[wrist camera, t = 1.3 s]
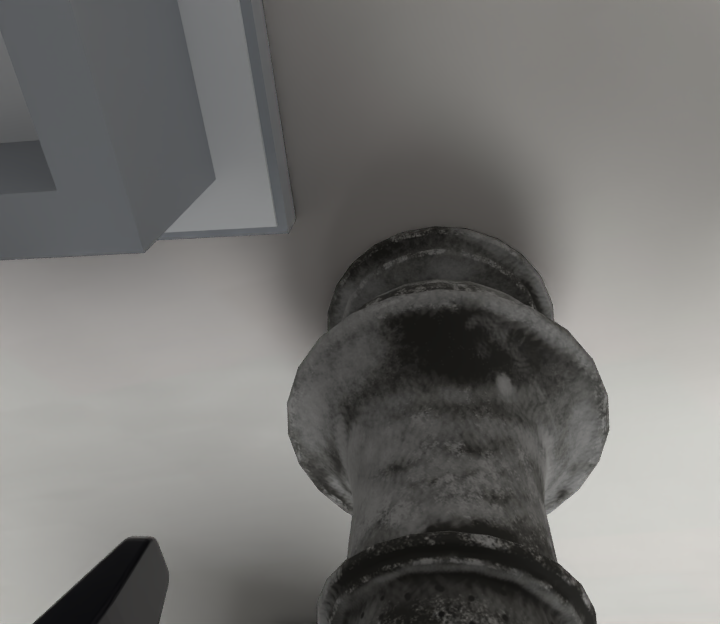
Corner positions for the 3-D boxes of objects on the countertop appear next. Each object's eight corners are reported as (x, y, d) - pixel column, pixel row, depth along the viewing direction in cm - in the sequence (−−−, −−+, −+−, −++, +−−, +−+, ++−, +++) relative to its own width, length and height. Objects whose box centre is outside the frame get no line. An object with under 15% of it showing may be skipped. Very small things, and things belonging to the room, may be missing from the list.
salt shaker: (402, 458, 16) (372, 1334, 6) (265, 298, 14) (-174, 1234, 4) (610, 363, 14) (1140, 1464, 4) (486, 159, 12) (921, 1416, 2)
